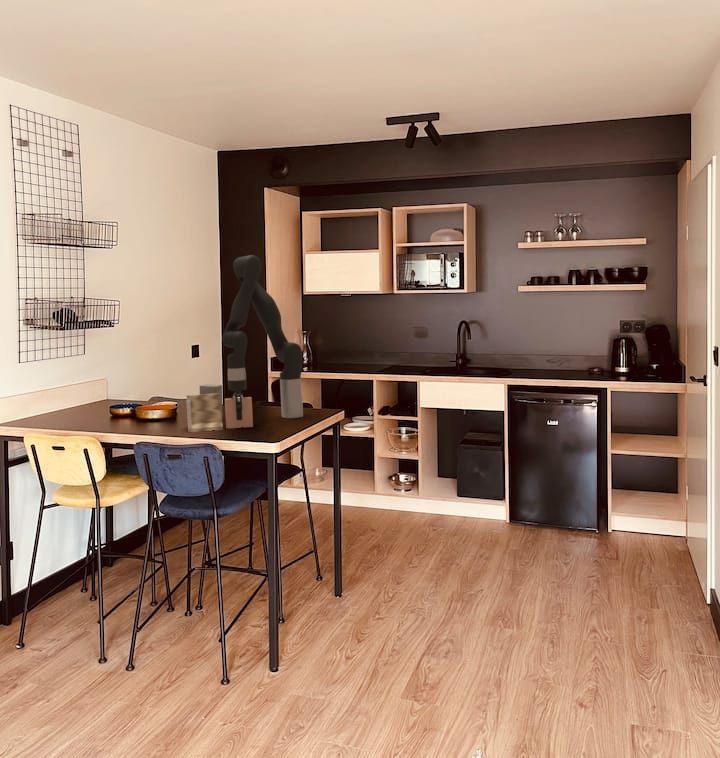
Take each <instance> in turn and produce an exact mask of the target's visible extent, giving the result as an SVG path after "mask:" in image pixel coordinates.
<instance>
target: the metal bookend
mask: <svg viewBox="0 0 720 758" xmlns="http://www.w3.org/2000/svg"><path fill="white" fill-rule="evenodd" d="M185 401H186V413H187V414H186V416H187V417H186V418H187V430H188V429H192V415H191V398H187V397H186V400H185Z"/></svg>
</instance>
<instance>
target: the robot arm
mask: <svg viewBox="0 0 720 758" xmlns="http://www.w3.org/2000/svg"><path fill="white" fill-rule="evenodd" d="M232 264H233V265H232V267H233V268H232V269H233V272H234V274H235V276H236V277H237V279H238V281H239V282H240V284H241V287H240V289H239V291H238V293H237V294H236V297H235V298H234V300H233V302H232V305H231V309H230V310H231V311H230V317H229V321H228V322H227V324H226V326H225V329H224V331H223V333H222V343H223V345H224V346H225V347H226V348H230V349H231V348H232V349H233V352H232V353H229V354H228V355H227V388H228V391H230V392H234V393H233V394H232V398H233V399H234V405H235V406H236V415H237V420H242V405H243V400H242V399H243V397H244V395H243V393H241V392H242V391H246V390H247V372H246V367H245V366H246V365H245V364H246V363H245V356H246V352H247V347H248V336H247V334H246V333H245V332H244V331H242V330H240V328H242V327H245V326H246V325H247V322H248V317H249V311H250V308H251V307H250V306H251V305H252V306H253V308H254V310H255V312H256V313H255V314H256V315H257V316H258V319H259V321H260V322H261V324H262V327H263V328H264V330H265V332H266V334H267V337H268V338H269V342H270V343H271V346H272V349H273V353H274V354H275V357H276V359H277V360H278V361H279V362H280V363H283V370H282V371H280V372H279V387H280V388H279V389H280V405H281V406H280V407H281V408H280V409H281V410H280V411H281V412H280V413H281V418H284V419H296V418H297V419H298V418H303V417H304V407H303V406H304V405H303V402H304V401H303V395H302V379H301V378H302V377H301V376H302V373H303V350H302V348H301V346H300V345H299V344H298V343H296V342H290V341H288V339H287V337H286V335H285V333H284V331H283V328H282V316H281V311H280V309H279V307H278V305H277V302H276V301H275V299H274V298H273V297H272V296H271V295H270V294H269V293H268V292H267V291H266V290H265V289H264V288H263V287H262V286H261V285H260V283H259V282H258V281H259V278H260V275H261V271H262V262H261V260H260V258H259V257H258V256H256V255H254V254H249V255H245V256H244V255H243V256H239V257H237V258H236V259H235V260H234V261H233V263H232ZM235 399H236V401H235ZM237 406H241V407H238V408H237Z"/></svg>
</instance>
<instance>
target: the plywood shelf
mask: <svg viewBox="0 0 720 758" xmlns="http://www.w3.org/2000/svg"><path fill="white" fill-rule="evenodd" d="M187 398H191V415H192V429H188V428H187V433H199V432H211V431H212V430H215V431H224V425H223V411H222V412H221V395H220V393H218V394H201V395H200V394H187V395H186V399H187ZM212 432H213V431H212Z"/></svg>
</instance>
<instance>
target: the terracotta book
mask: <svg viewBox="0 0 720 758" xmlns="http://www.w3.org/2000/svg"><path fill="white" fill-rule="evenodd" d="M252 399H253V398H252V397H251V396H248V397H247V396H246V397H244V396H243V399H242V400H243V405H242V420H237V415H236V406H235V405H234V399H233V397H228V398H224V411H225V413H224V414H225V427H226V429H227V428H228V429H238V428H239V429H240V428H242V427H243V428H253V427H254V421H253V419H254V418H253V400H252ZM235 401H236V399H235ZM238 407H241V406H237V408H238ZM228 429H227V430H228Z"/></svg>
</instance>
